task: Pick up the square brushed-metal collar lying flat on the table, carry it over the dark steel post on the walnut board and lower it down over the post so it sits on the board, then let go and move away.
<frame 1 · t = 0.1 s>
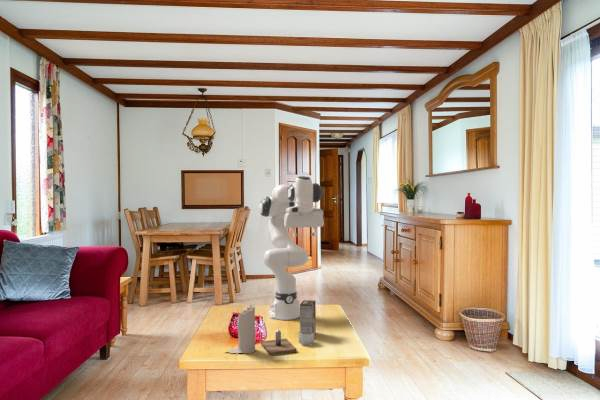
hand: (304, 236, 211), 48 cm above the table, tool pointing down, fingers open, 8 cm apart
post board: (278, 348, 188), on the table
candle: (239, 351, 185), on the table
collar: (306, 343, 194), on the table
coffee box: (308, 335, 206), on the table
steel post: (278, 337, 188), on the post board, point 5 cm above the table
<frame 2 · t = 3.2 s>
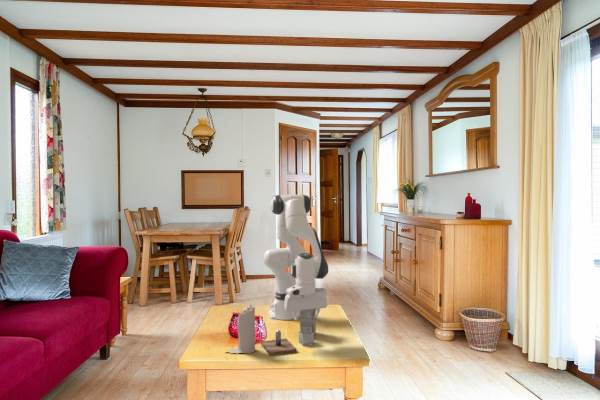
hand: (306, 319, 195), 11 cm above the table, tool pointing down, fingers open, 8 cm apart
nothing on the table moved.
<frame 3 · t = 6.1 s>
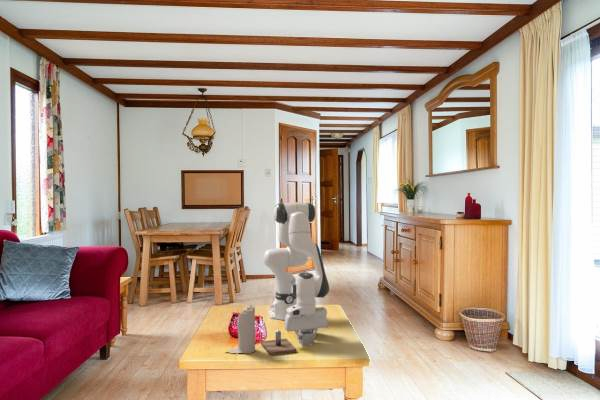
hand: (306, 338, 194), 2 cm above the table, tool pointing down, fingers closed on collar, 5 cm apart
collar: (306, 343, 194), on the table, touching gripper
everything else where it was.
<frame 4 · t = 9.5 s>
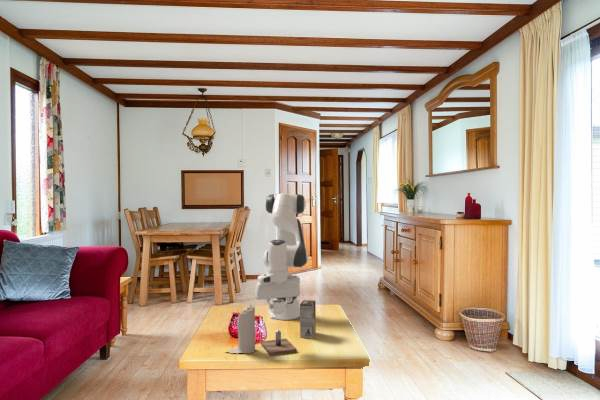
hand: (278, 307, 188), 18 cm above the table, tool pointing down, fingers closed on collar, 5 cm apart
collar: (278, 312, 188), point 16 cm above the table, touching gripper
everything else where it was.
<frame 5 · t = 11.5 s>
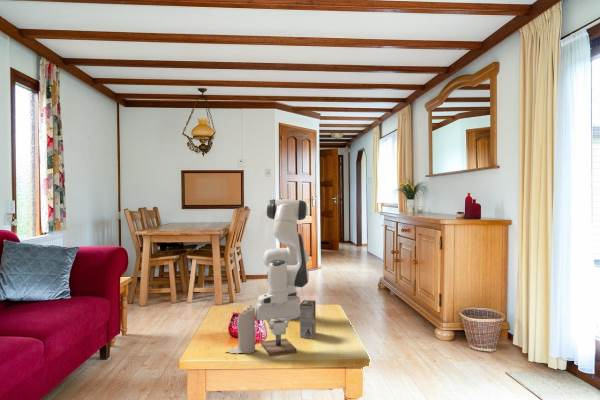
hand: (278, 328, 188), 9 cm above the table, tool pointing down, fingers closed on collar, 5 cm apart
collar: (278, 332, 188), point 7 cm above the table, touching gripper
everything else where it was.
when the fingers open (5 cm above the table, at t = 13.1 s): collar drops 2 cm, resting on post board.
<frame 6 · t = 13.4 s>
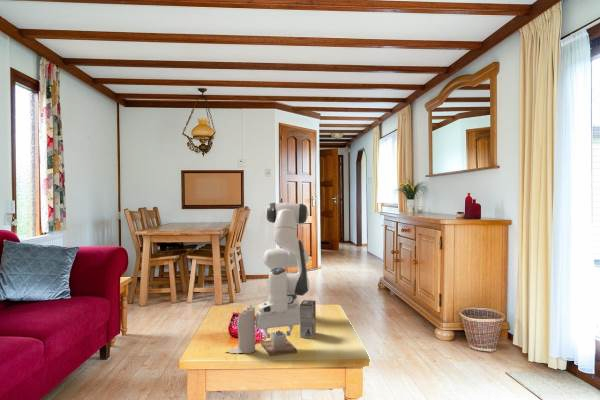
hand: (278, 336, 188), 5 cm above the table, tool pointing down, fingers open, 8 cm apart
collar: (278, 345, 188), point 1 cm above the table, touching post board
everything else where it was.
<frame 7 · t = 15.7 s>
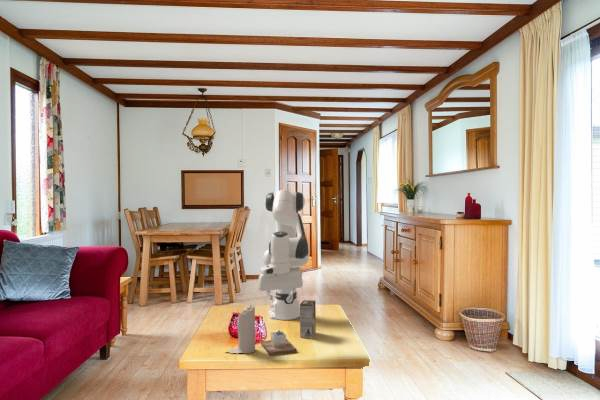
hand: (280, 298, 190), 22 cm above the table, tool pointing down, fingers open, 8 cm apart
nothing on the table moved.
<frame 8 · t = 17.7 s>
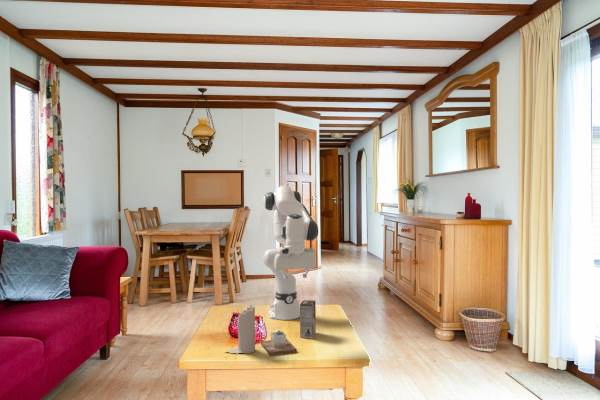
hand: (295, 278, 199), 29 cm above the table, tool pointing down, fingers open, 8 cm apart
nothing on the table moved.
at the end: collar 0.0 cm from the steel post (horizontally); collar point 1.5 cm above the table; collar tilted 0° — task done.
